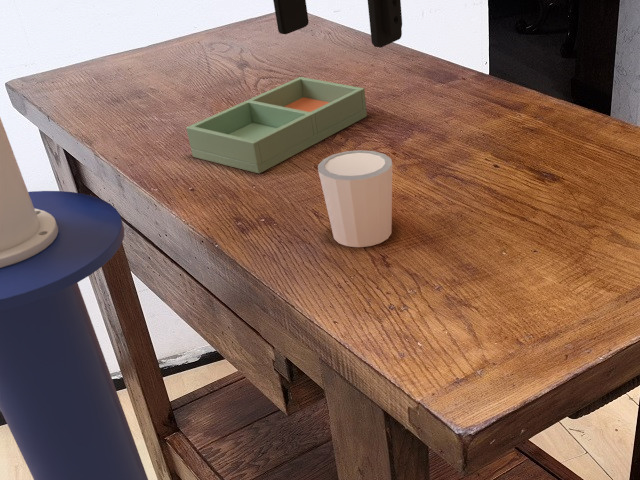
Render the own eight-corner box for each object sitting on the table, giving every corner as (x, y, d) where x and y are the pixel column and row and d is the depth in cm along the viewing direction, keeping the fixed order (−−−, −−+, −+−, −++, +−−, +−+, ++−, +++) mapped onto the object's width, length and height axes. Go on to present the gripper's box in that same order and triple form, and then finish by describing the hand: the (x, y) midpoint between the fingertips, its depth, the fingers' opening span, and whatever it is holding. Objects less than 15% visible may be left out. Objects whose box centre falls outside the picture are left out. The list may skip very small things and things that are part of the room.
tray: (259, 174, 92) (253, 143, 90) (192, 157, 97) (185, 127, 95) (367, 116, 105) (364, 88, 103) (304, 103, 110) (300, 76, 107)
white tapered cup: (394, 250, 77) (388, 178, 73) (321, 250, 78) (310, 179, 73) (401, 217, 83) (396, 148, 78) (332, 217, 83) (324, 149, 79)
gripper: (178, -222, 58) (230, 37, 69) (375, -231, 51) (399, 62, 61) (252, -228, 63) (289, 15, 74) (442, -238, 55) (453, 35, 66)
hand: (339, 36), depth 68 cm, fingers open, 9 cm apart
